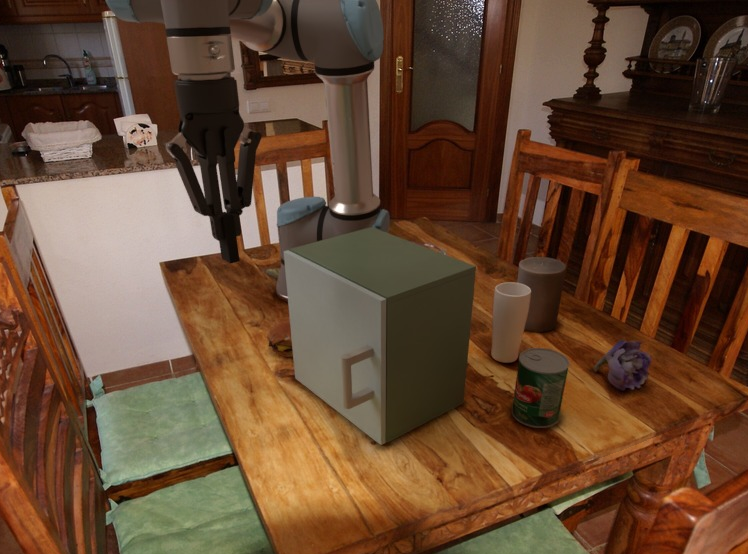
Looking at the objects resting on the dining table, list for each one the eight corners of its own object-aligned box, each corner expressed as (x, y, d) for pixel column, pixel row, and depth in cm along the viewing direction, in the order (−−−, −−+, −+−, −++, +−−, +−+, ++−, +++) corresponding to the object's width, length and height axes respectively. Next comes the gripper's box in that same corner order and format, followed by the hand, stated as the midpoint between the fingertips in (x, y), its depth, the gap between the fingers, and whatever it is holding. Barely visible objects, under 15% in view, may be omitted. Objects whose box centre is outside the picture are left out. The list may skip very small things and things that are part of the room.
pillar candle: (566, 326, 126) (577, 262, 119) (531, 336, 123) (541, 270, 115) (535, 309, 134) (545, 247, 126) (502, 318, 131) (509, 255, 123)
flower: (578, 345, 106) (636, 336, 99) (594, 346, 112) (650, 338, 106) (585, 395, 105) (644, 389, 98) (601, 393, 111) (657, 388, 105)
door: (355, 459, 90) (351, 311, 77) (271, 387, 108) (256, 258, 95) (385, 443, 93) (386, 298, 80) (299, 376, 111) (288, 249, 98)
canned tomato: (567, 414, 99) (579, 359, 93) (543, 434, 94) (553, 378, 89) (527, 395, 104) (535, 343, 98) (502, 414, 99) (509, 359, 94)
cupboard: (386, 443, 93) (387, 297, 80) (300, 376, 111) (289, 248, 98) (463, 403, 102) (476, 266, 89) (372, 347, 120) (371, 226, 107)
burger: (310, 333, 126) (308, 314, 124) (319, 354, 119) (317, 334, 116) (265, 340, 124) (263, 321, 122) (271, 361, 117) (269, 341, 114)
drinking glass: (522, 367, 112) (533, 297, 105) (487, 364, 113) (494, 295, 106) (520, 350, 118) (530, 282, 110) (487, 347, 119) (494, 280, 112)
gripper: (164, 82, 64) (199, 279, 76) (266, 73, 71) (283, 256, 83) (141, 78, 69) (177, 263, 81) (238, 71, 76) (258, 242, 88)
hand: (230, 259), depth 82 cm, fingers closed
